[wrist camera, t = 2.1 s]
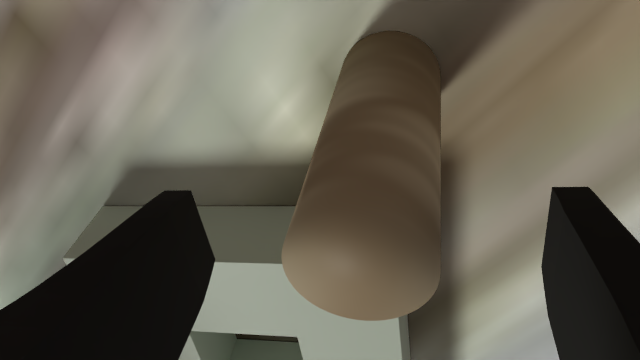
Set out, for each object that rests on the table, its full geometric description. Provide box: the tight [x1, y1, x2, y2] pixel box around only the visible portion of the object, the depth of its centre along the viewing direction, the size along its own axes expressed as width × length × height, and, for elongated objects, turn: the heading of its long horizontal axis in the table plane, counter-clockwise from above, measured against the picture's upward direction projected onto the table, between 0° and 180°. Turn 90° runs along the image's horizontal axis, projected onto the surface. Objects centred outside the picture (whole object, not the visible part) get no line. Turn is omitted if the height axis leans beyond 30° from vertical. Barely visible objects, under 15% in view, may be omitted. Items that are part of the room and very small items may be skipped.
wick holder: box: [63, 206, 411, 360], centre depth 23 cm, size 12×12×3 cm
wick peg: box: [282, 31, 441, 321], centre depth 13 cm, size 3×3×8 cm
